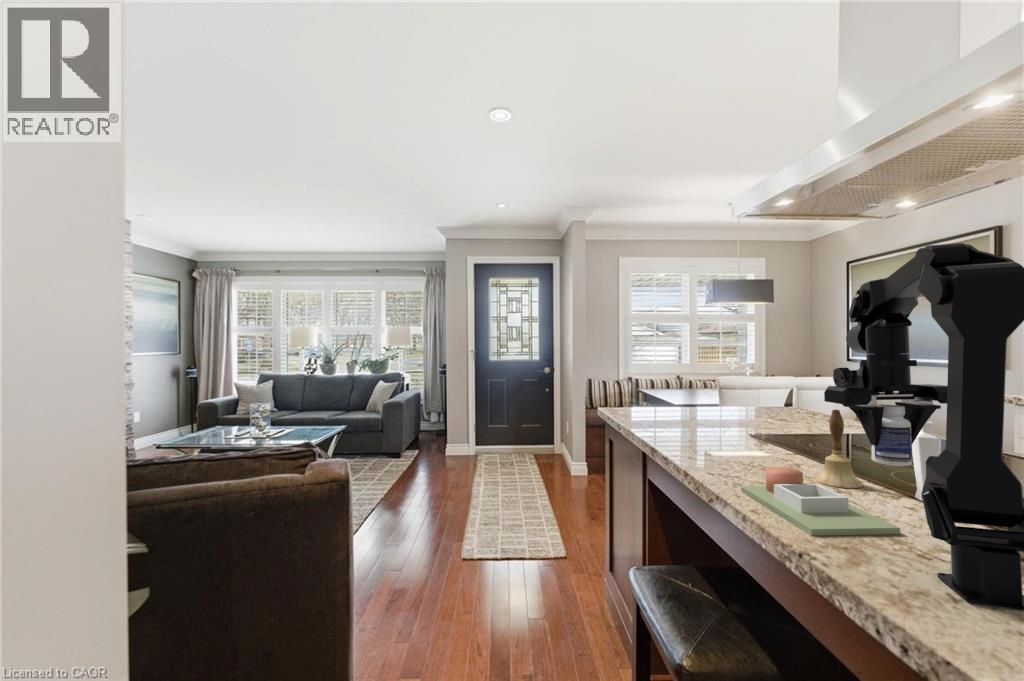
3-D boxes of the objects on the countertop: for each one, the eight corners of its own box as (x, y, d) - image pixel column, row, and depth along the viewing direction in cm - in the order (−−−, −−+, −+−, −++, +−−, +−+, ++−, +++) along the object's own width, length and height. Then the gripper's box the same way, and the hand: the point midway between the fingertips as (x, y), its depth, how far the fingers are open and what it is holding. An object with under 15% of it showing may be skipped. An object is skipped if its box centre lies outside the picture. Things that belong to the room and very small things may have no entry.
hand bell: (807, 477, 101) (805, 407, 101) (844, 477, 100) (842, 407, 101) (832, 489, 93) (829, 413, 93) (873, 488, 92) (870, 412, 93)
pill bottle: (921, 467, 72) (918, 407, 73) (883, 466, 74) (881, 407, 74) (899, 459, 78) (897, 403, 78) (864, 458, 79) (862, 403, 79)
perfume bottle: (907, 497, 86) (903, 420, 87) (920, 494, 88) (917, 419, 88) (936, 505, 82) (933, 424, 83) (950, 501, 84) (946, 422, 84)
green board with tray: (900, 534, 70) (898, 502, 70) (811, 535, 70) (810, 503, 70) (808, 490, 92) (807, 466, 92) (741, 491, 92) (740, 467, 92)
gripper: (901, 352, 84) (904, 435, 84) (802, 354, 84) (805, 436, 84) (960, 353, 73) (964, 447, 72) (846, 355, 73) (849, 449, 73)
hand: (891, 444), depth 76 cm, fingers closed on pill bottle, 5 cm apart
